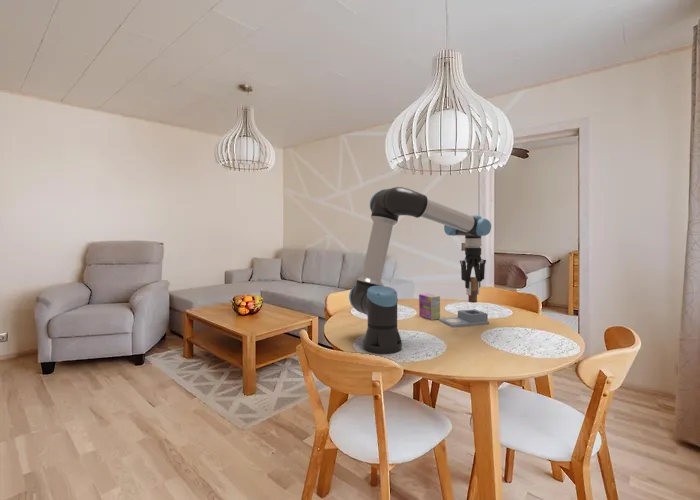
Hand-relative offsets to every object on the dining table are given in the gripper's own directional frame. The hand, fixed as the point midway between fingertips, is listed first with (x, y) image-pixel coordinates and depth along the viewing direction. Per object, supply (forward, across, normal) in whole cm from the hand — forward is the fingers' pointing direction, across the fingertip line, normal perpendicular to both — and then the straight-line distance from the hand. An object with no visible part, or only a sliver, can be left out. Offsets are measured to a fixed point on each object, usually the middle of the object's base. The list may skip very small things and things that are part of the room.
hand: (472, 294), depth 172 cm
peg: (+4, 0, 0) cm, 4 cm away
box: (+14, +16, -14) cm, 25 cm away
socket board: (+14, +5, 0) cm, 15 cm away
